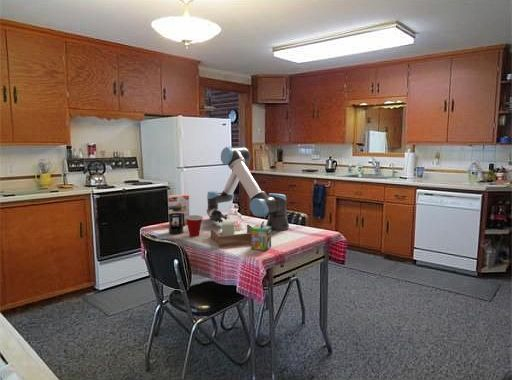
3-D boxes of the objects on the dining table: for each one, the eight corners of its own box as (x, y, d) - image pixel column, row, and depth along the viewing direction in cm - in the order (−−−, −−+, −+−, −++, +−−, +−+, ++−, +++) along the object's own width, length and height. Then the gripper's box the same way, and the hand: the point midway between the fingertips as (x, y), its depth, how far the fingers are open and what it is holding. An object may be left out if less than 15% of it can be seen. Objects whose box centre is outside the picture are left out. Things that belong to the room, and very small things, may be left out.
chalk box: (255, 244, 205) (255, 219, 203) (271, 246, 202) (271, 219, 200) (250, 249, 196) (250, 222, 194) (267, 251, 193) (267, 223, 191)
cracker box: (169, 226, 251) (168, 196, 249) (169, 224, 257) (168, 195, 254) (190, 225, 255) (189, 195, 252) (189, 223, 260) (188, 194, 258)
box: (210, 237, 221) (210, 227, 220) (248, 233, 229) (248, 224, 228) (219, 247, 201) (219, 236, 200) (260, 242, 209) (260, 232, 208)
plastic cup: (196, 238, 219) (195, 219, 217) (182, 236, 224) (181, 217, 222) (207, 234, 228) (206, 215, 226) (193, 232, 233) (192, 214, 232)
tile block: (223, 231, 235) (223, 219, 234) (234, 231, 235) (234, 219, 234) (222, 237, 221) (222, 224, 220) (234, 237, 222) (233, 224, 221)
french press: (173, 235, 227) (172, 198, 224) (164, 233, 233) (163, 197, 230) (188, 231, 236) (187, 196, 232) (179, 229, 242) (178, 195, 238)
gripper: (225, 219, 261) (233, 226, 239) (207, 220, 257) (214, 228, 235) (224, 209, 260) (233, 215, 238) (206, 210, 256) (214, 216, 234)
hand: (224, 221), depth 237 cm, fingers closed
